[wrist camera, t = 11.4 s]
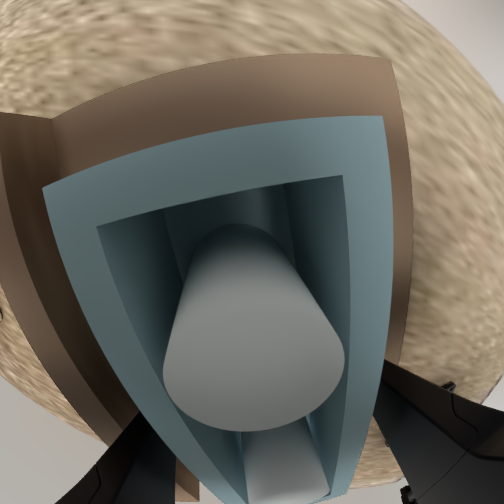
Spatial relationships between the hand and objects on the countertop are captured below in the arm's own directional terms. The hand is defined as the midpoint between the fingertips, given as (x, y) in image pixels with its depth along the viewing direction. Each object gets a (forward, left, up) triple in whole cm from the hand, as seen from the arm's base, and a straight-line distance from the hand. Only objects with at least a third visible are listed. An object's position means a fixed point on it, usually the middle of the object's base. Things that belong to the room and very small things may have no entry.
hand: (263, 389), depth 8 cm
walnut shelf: (0, 0, -4) cm, 4 cm away
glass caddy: (0, 0, -2) cm, 3 cm away
